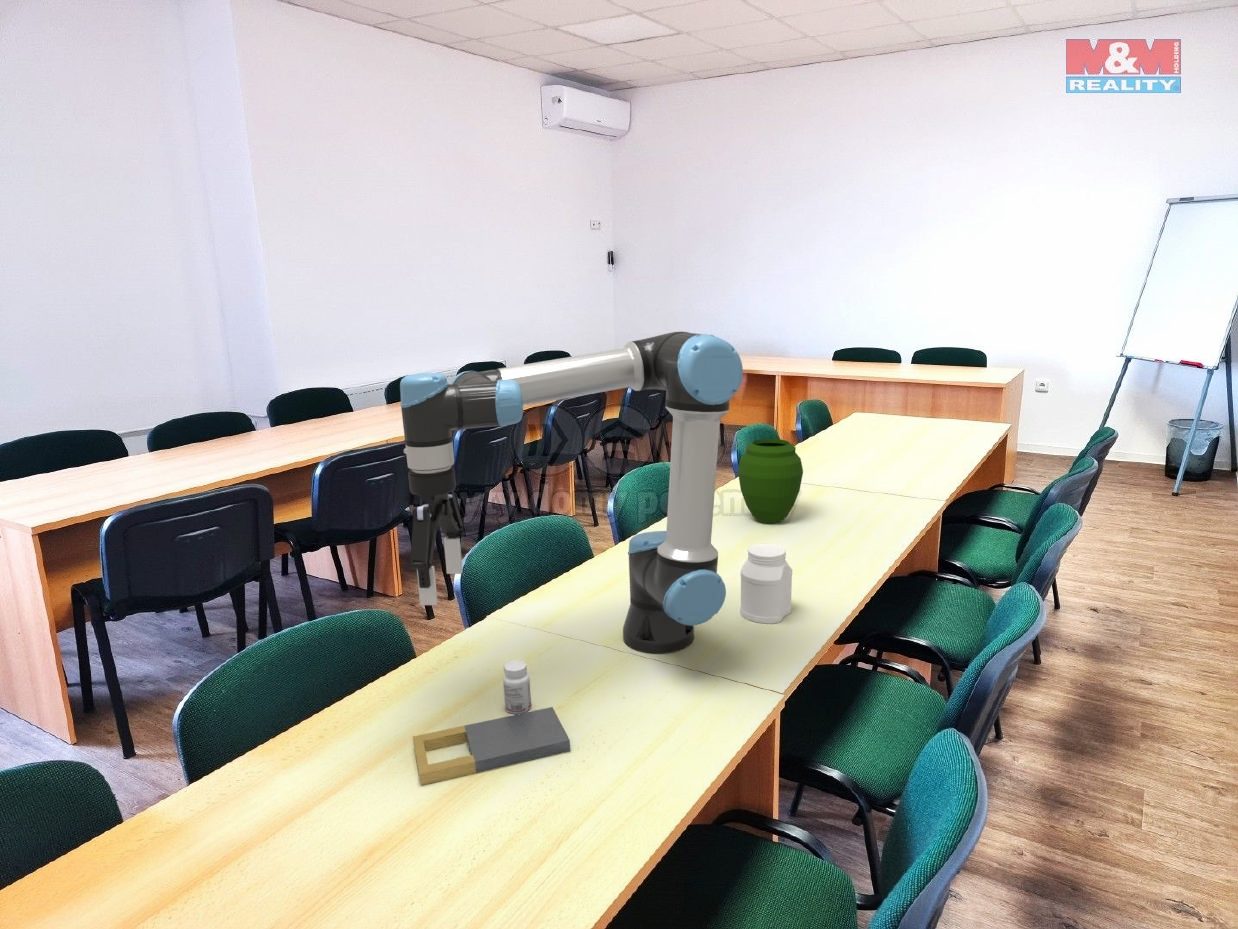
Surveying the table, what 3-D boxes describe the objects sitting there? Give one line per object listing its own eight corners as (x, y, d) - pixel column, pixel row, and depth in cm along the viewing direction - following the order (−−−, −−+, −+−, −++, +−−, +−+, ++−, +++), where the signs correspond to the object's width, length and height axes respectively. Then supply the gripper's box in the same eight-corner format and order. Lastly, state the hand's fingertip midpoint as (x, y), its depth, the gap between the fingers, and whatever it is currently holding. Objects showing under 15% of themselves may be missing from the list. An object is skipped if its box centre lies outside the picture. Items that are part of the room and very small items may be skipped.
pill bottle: (518, 698, 147) (515, 656, 145) (537, 706, 144) (534, 663, 142) (499, 709, 144) (496, 666, 142) (517, 717, 141) (514, 674, 139)
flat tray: (552, 717, 141) (552, 706, 140) (570, 751, 131) (569, 740, 130) (413, 747, 133) (412, 736, 132) (420, 785, 123) (419, 774, 122)
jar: (774, 627, 173) (775, 562, 169) (734, 617, 178) (735, 554, 175) (795, 608, 182) (797, 546, 178) (757, 599, 187) (758, 539, 184)
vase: (765, 506, 259) (766, 433, 253) (815, 519, 244) (817, 442, 238) (724, 519, 247) (724, 443, 241) (773, 534, 232) (775, 453, 226)
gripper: (434, 450, 144) (444, 561, 149) (379, 488, 120) (393, 618, 125) (474, 450, 143) (483, 561, 148) (427, 488, 119) (439, 619, 124)
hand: (442, 588), depth 137 cm, fingers open, 13 cm apart
